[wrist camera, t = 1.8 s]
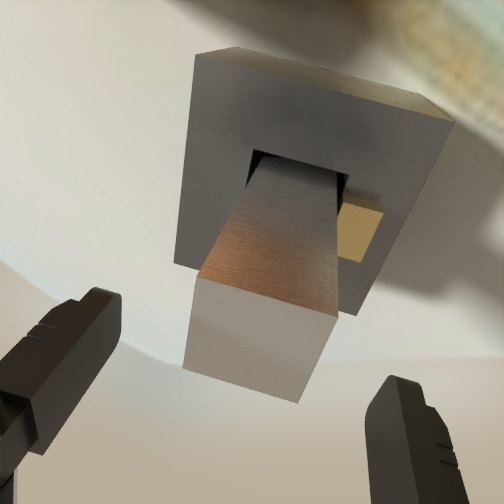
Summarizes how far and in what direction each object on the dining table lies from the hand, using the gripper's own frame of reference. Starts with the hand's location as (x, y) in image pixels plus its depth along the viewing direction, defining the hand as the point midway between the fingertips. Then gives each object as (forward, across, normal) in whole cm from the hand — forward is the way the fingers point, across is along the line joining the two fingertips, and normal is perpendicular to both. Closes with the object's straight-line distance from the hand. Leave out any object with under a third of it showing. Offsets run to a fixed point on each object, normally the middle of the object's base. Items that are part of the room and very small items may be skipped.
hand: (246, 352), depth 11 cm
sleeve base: (+19, 0, 0) cm, 19 cm away
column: (+18, 0, 0) cm, 18 cm away
